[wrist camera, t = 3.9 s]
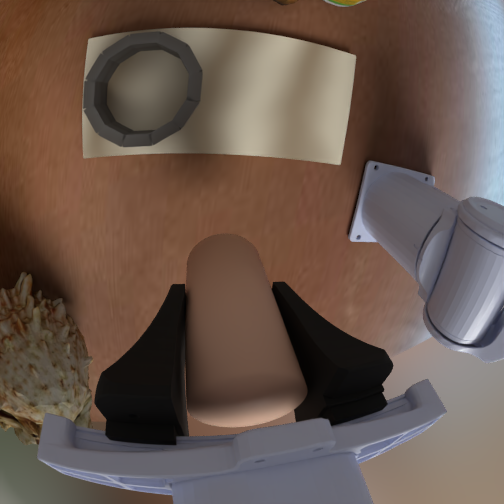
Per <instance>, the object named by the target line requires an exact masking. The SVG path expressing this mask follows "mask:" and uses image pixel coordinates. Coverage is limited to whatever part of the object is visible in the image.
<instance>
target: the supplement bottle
mask: <svg viewBox="0 0 504 504" xmlns="http://www.w3.org/2000/svg"><path fill="white" fill-rule="evenodd" d="M324 1H325V2H328V3H330V4H333V5H336V6H342V7H348V6H353V5H356V4H359V3H361V2H363V1H366V0H324Z"/></svg>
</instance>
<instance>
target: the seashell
mask: <svg viewBox="0 0 504 504" xmlns="http://www.w3.org/2000/svg"><path fill="white" fill-rule="evenodd" d="M31 289H32V277H31V274H29V275H27V273H25V272H22V273H21V276H20V278H19V280H18V281H17V283H16V286H15V288H12V289H9V290H6V289H4V288H2V289H0V425H1V427H2V428H3V429H4V430H5V432H6V430H7V429H8V428H9V427H13V428H14V430H15V434H16V435H17V437H18V438H19V440H20V441H21V442H22V443H24V444H25V445H28V444H39V442H40V436H41V430H42V425H43V420H44V416H45V413H50V414H54V415H58V416H63V417H66V418H68V419H70V420H71V421H73V422H74V424H75V425H76V426H80V427H85V428H90V429H93V427H92V423H91V418H90V410H91V405H92V396H91V392H92V391H91V390H90V389H89V386H88V380H89V376H88V375H89V374H88V366H89V364H90V363H91V362H92V361H93V358H92V356H90V357H88V352H87V348H86V345H85V341H84V337H83V335H82V334H81V332H80V331H79V329H78V327H77V325H76V324H75V323H74V321H73V319H72V318H71V317H70V316H68V315H67V314H66V309H65V305H64V304H63V298H59V299H57V300H55V301H51V300H50V299H45V298H44V297H43V296H42V291H41V290H40V291H38V292H35V291H32V290H31Z"/></svg>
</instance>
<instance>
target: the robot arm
mask: <svg viewBox="0 0 504 504" xmlns="http://www.w3.org/2000/svg"><path fill="white" fill-rule="evenodd" d="M375 165H376V169H374V167H375ZM425 178H426V179H425ZM434 183H435V178H434V176H432V175H429V174H425V173H421V172H418V171H414V170H410V169H406V168H402V167H398V166H394V165H389V164H385V163H380V162H376V161H368V162H367V163H366V166H365V171H364V176H363V180H362V184H361V189H360V193H359V197H358V201H357V205H356V209H355V213H354V217H353V221H352V225H351V228H350V232H349V236H348V237H349V239H350V240H351V241H353V242H378V243H379V244H380V245H381V246H382V247H383V248H384V249H385V250H386V251H387V252H388V253H389V254H390V255H391V256H392V257H393V258H394V259H395V260H396V261H397V262H398V263H399V264H400V265H401V266H402V267H403V268H404V269H405V270H406V271H407V272H408V273H409V274H410V275H411V276H412V277H413V278H414V279H415V280H416V281H417V282H418V283H419V291H418V294H419V296H420V297H421V298H422V299H423V300H424V301H425V305H424V308H423V320H424V323H425V325H426V327H427V329H428V331H429V332H430V334H431V335H432V336H433V337H434V338H435V339H436V340H437V341H438V342H439V343H441V344H442V345H444V346H445V347H447V348H449V349H452V350H455V351H459V352H465V353H469V354H472V355H474V356H476V357H477V358H479V359H481V360H482V361H483V362H485V363H490V362H494V361H499V360H502V359H504V308H503V309H502V307H503V305H504V206H502V205H500V204H498V203H496V202H493V201H491V200H488V199H484V198H480V197H469V198H468V199H466V200H462V201H461V202H460V201H458V200H457V199H455V198H453V197H451V196H450V195H448V194H446V193H445V192H443V191H441V190H439V189H438V188H436V187H434ZM358 235H359V236H358ZM357 236H358V237H357ZM356 237H357V238H356ZM272 292H273V294H274V297H275V300H276V303H277V305H278V308H279V311H280V314H281V316H282V319H283V322H284V325H285V327H286V330H287V333H288V336H289V338H290V341H291V344H292V347H293V349H294V352H295V355H296V358H297V360H298V363H299V366H300V369H301V371H302V374H303V377H304V380H305V383H306V385H307V389H308V391H307V395H306V398H305V399H304V401H303V402H302V403H301V404H300V405H299V406H298V407H297V408H295V409H294V412H295V419H296V422H295V423H289V424H283V425H278V426H270V427H263V428H257V429H252V430H247V431H245V432H242V433H240V434H233V435H218V436H190V437H189V431H188V421H187V409H186V395H185V309H186V291H185V284H173V285H172V286H171V287H170V290H169V292H168V295H167V297H166V299H165V301H164V303H163V305H162V306H161V308H160V310H159V312H158V313H157V315H156V317H155V318H154V320H153V321H152V323H151V324H150V326H149V327H148V328H147V330H146V331H145V332H144V334H143V335H142V336H141V337H140V339H139V340H138V341H137V342H136V343H135V344H134V345H133V346H132V348H131V349H130V350H129V351H127V352H126V353H125V354H124V355H123V356H122V357H121V358H120V359H119V360H118V361H117V362H115V363H114V364H113V365H111V366H110V367H109V368H107V369H106V370H105V371H103V372H102V373H101V376H100V378H99V381H98V384H97V388H96V394H95V402H94V403H95V405H96V407H97V408H98V409H99V411H100V412H101V413H102V414H103V416H104V417H105V418H106V419H107V421H106V431H103V430H96V429H90V428H85V427H80V426H76V425H75V424H74V422H73V421H71V420H70V419H68V418H66V417H63V416H58V415H54V414H50V413H45V416H44V420H43V425H42V430H41V436H40V442H39V448H38V456H37V458H38V459H39V460H40V461H42V462H44V463H45V464H47V465H49V466H51V467H52V468H54V469H56V470H58V471H59V472H61V473H63V474H65V475H69V476H72V477H76V478H79V479H84V480H87V481H91V482H95V483H99V484H104V485H108V486H113V487H118V488H123V489H128V490H134V491H141V492H148V493H157V494H167V495H173V503H174V504H373V501H372V498H371V496H370V493H369V490H368V488H367V485H366V482H365V480H364V477H363V475H362V472H361V469H360V467H359V463H362V462H364V461H366V460H369V459H371V458H373V457H375V456H378V455H380V454H382V453H384V452H386V451H388V450H390V449H392V448H394V447H396V446H398V445H400V444H402V443H404V442H406V441H408V440H409V439H411V438H413V437H415V436H417V435H419V434H420V433H422V432H424V431H425V430H426V429H427V428H429V427H430V426H431V425H432V424H434V423H435V422H436V421H437V420H438V419H440V418H441V417H442V416H443V415H444V414H445V413H446V412H447V410H446V409H445V407H444V405H443V403H442V402H441V400H440V399H439V397H438V395H437V393H436V392H435V390H434V388H433V387H432V385H431V383H430V382H429V380H428V379H425V380H423V381H421V382H418V383H416V384H414V385H412V386H411V387H410V388H409V389H408V390H407V391H406V392H405V394H403V395H400V396H398V397H395V398H393V399H390V400H387V401H386V399H385V397H384V395H383V393H382V392H384V388H383V386H382V383H383V382H384V381H385V380H386V378H387V377H388V376H389V374H390V373H391V371H392V369H393V363H392V361H391V359H390V358H389V356H388V354H387V353H386V351H385V350H384V349H381V348H378V347H375V346H372V345H370V344H367V343H365V342H363V341H361V340H358V339H356V338H354V337H352V336H350V335H349V334H347V333H345V332H343V331H342V330H340V329H338V328H337V327H335V326H334V325H332V324H331V323H330V322H328V321H327V320H325V319H324V318H323V317H322V316H320V315H319V314H318V313H317V312H316V311H314V310H313V309H312V308H311V307H310V306H309V305H308V304H307V303H305V302H304V301H303V300H302V299H301V298H300V297H299V296H298V295H297V294H296V293H295V292H294V291H293V290H292V289H291V288H290V287H289V286H288V285H287V284H286V283H285V282H273V286H272ZM501 309H502V310H501Z"/></svg>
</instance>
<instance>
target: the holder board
mask: <svg viewBox="0 0 504 504" xmlns="http://www.w3.org/2000/svg"><path fill="white" fill-rule="evenodd" d="M355 63H356V56H355V55H352V54H349V53H346V52H343V51H340V50H337V49H333V48H330V47H326V46H323V45H319V44H315V43H311V42H307V41H303V40H298V39H293V38H289V37H283V36H278V35H272V34H266V33H259V32H251V31H242V30H231V29H216V28H166V29H151V30H140V31H131V32H124V33H117V34H111V35H105V36H100V37H95V38H90V39H89V40H88V47H87V54H86V63H85V73H84V86H83V109H82V136H83V158H93V157H104V156H117V155H134V154H162V153H206V154H234V155H252V156H266V157H278V158H288V159H298V160H306V161H315V162H322V163H329V164H336V165H340V164H341V159H342V153H343V148H344V142H345V136H346V130H347V124H348V117H349V111H350V104H351V96H352V89H353V81H354V72H355Z"/></svg>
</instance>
